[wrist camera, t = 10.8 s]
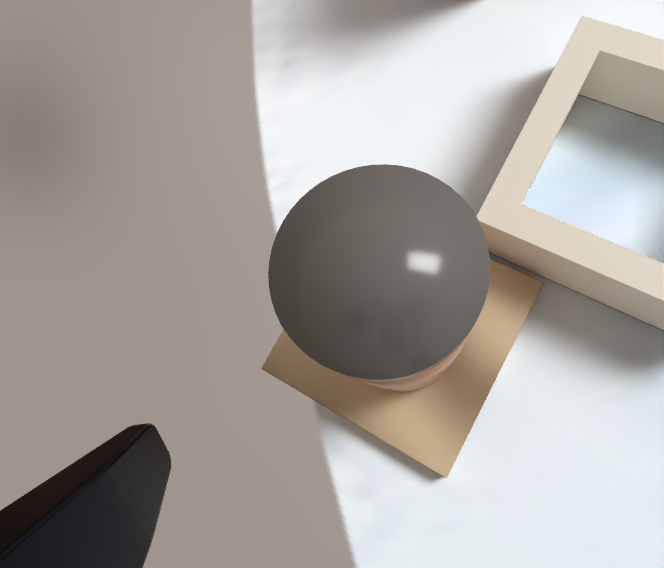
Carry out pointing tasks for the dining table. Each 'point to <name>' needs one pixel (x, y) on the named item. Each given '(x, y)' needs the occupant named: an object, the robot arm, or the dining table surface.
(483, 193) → the dining table surface
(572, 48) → the holder
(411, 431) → the coaster
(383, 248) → the jar
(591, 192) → the dining table surface
